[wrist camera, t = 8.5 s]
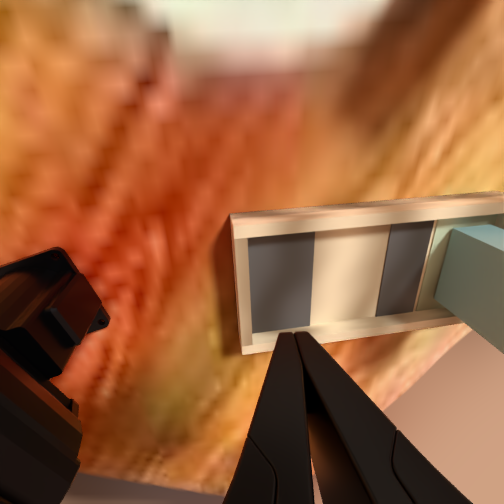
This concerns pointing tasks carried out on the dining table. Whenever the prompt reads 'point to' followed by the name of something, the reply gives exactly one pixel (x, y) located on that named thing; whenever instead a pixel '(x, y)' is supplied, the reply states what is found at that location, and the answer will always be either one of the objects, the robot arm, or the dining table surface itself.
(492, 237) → the teal block
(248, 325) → the box
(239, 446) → the dining table surface
